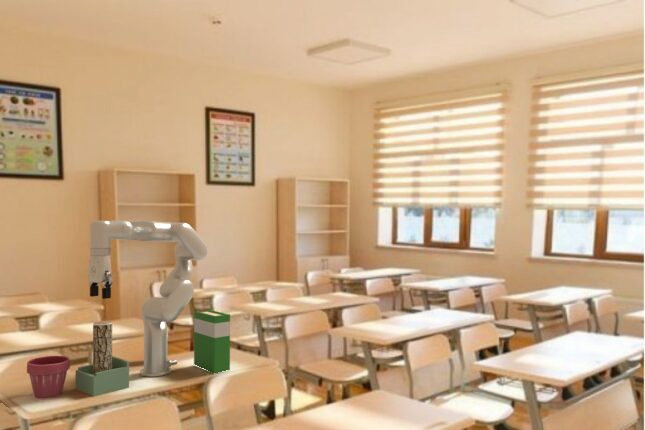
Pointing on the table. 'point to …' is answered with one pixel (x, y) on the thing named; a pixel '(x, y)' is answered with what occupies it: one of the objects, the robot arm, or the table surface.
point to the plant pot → (48, 375)
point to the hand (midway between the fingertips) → (100, 297)
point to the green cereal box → (212, 340)
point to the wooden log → (102, 346)
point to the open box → (103, 378)
